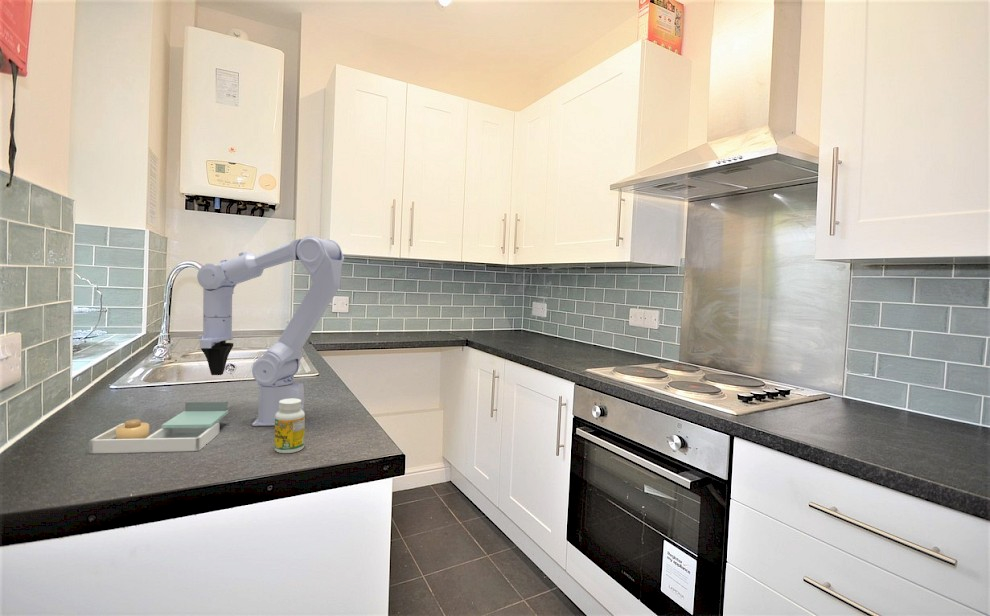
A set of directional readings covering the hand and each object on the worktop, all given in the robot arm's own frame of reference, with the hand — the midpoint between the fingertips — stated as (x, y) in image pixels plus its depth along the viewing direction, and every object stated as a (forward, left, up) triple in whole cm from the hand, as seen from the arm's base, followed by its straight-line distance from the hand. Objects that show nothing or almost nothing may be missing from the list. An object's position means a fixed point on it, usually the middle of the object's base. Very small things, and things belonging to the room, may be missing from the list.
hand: (217, 374), depth 107 cm
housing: (+4, +17, -10) cm, 20 cm away
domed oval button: (+9, +17, -10) cm, 22 cm away
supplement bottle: (-21, +22, -10) cm, 32 cm away
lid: (0, +11, -7) cm, 13 cm away
